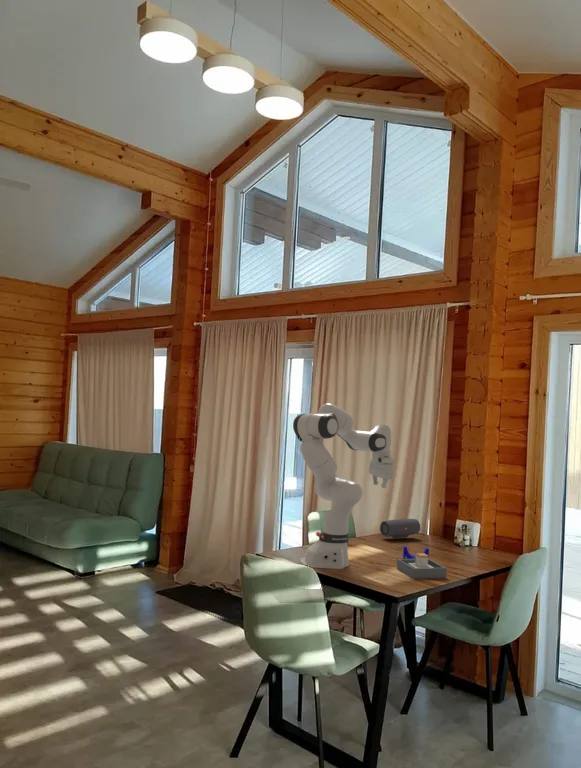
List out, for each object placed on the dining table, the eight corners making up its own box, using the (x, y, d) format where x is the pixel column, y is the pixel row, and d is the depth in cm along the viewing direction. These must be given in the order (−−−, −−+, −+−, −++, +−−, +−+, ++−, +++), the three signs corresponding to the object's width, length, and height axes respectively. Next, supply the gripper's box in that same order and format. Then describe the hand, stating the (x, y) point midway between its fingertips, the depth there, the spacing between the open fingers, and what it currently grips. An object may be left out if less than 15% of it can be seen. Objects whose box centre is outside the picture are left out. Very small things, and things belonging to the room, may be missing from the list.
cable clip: (403, 560, 315) (404, 547, 315) (402, 557, 319) (403, 545, 319) (428, 562, 313) (429, 549, 313) (427, 560, 318) (428, 547, 318)
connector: (419, 573, 288) (420, 555, 288) (414, 571, 291) (415, 553, 292) (427, 573, 289) (428, 555, 289) (423, 571, 293) (424, 553, 293)
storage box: (413, 580, 280) (413, 568, 280) (396, 570, 295) (397, 559, 295) (446, 579, 285) (446, 568, 285) (428, 569, 300) (428, 558, 300)
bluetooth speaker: (389, 540, 355) (390, 522, 355) (378, 536, 363) (379, 518, 363) (420, 537, 367) (421, 519, 367) (409, 533, 375) (410, 516, 375)
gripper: (366, 455, 329) (365, 482, 329) (384, 460, 309) (382, 489, 309) (378, 455, 331) (376, 482, 331) (396, 460, 311) (394, 489, 311)
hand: (379, 486), depth 320 cm, fingers open, 8 cm apart
